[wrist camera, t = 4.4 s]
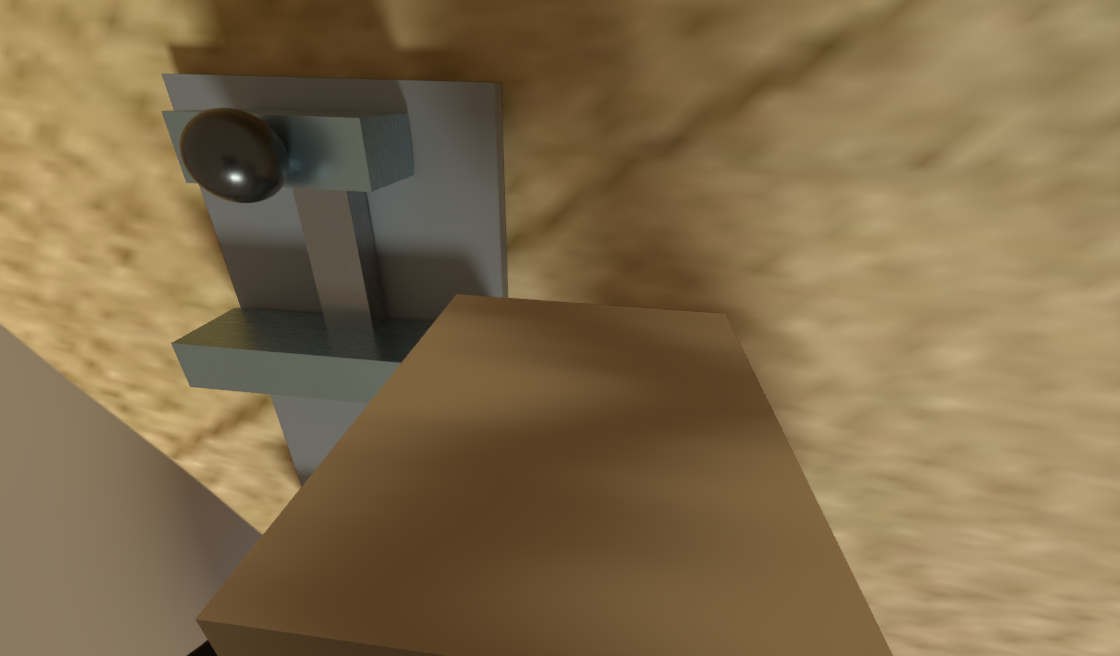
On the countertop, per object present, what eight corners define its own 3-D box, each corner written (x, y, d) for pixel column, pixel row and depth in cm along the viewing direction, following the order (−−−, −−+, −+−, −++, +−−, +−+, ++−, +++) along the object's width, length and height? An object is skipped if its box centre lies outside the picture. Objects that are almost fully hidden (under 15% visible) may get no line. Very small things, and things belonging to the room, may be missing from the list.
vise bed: (501, 83, 16) (461, 79, 12) (515, 539, 27) (498, 616, 23) (185, 74, 17) (51, 68, 13) (325, 516, 28) (277, 587, 24)
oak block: (725, 314, 8) (928, 726, 3) (669, 561, 11) (715, 968, 6) (456, 294, 9) (196, 617, 3) (477, 538, 12) (364, 897, 7)
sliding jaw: (493, 109, 15) (431, 117, 10) (503, 368, 20) (465, 460, 15) (162, 98, 16) (-42, 101, 11) (248, 346, 21) (132, 426, 16)
